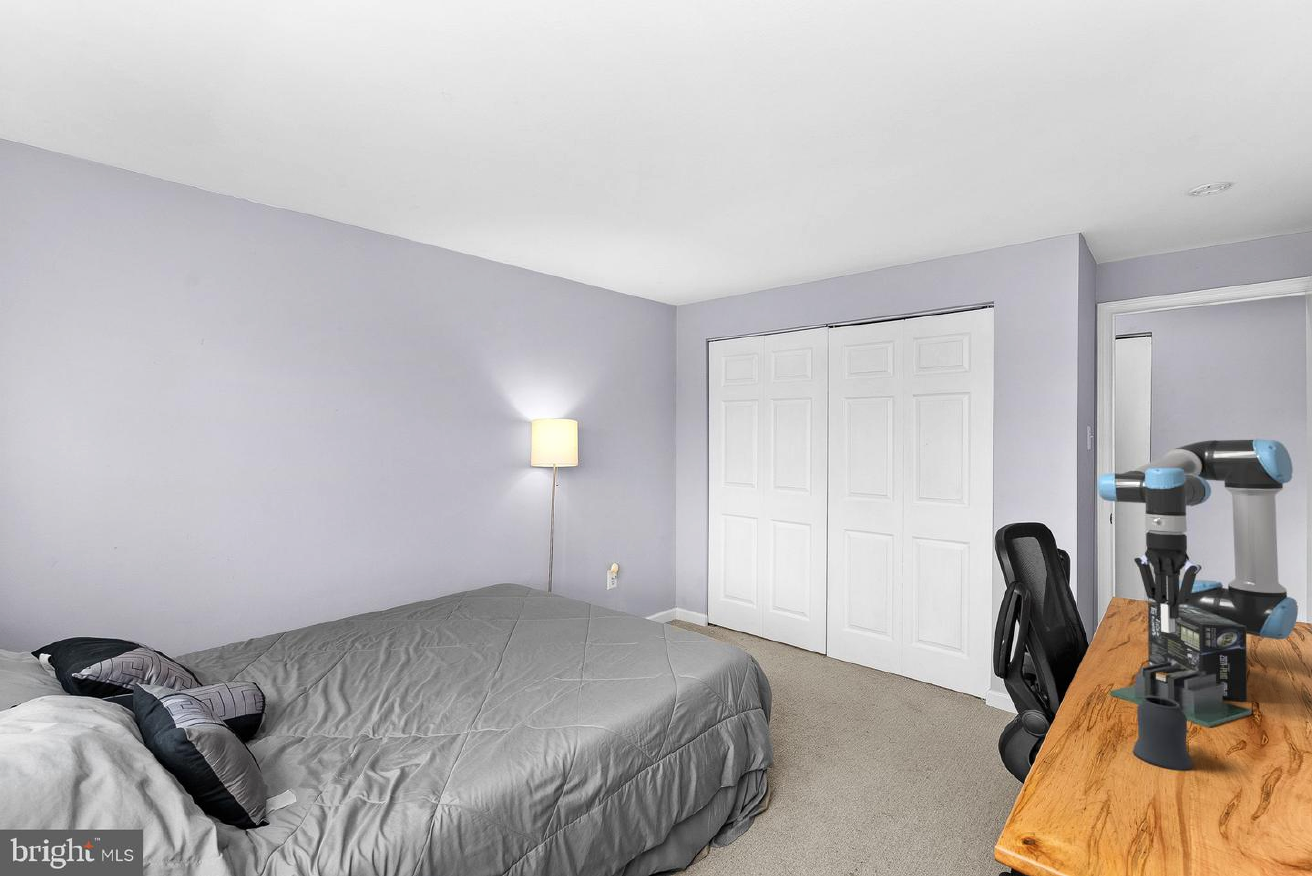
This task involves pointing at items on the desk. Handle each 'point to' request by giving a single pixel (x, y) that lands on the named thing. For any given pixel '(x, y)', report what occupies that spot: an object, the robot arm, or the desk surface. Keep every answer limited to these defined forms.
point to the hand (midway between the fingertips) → (1168, 631)
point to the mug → (1162, 734)
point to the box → (1202, 647)
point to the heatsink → (1184, 694)
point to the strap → (1172, 674)
